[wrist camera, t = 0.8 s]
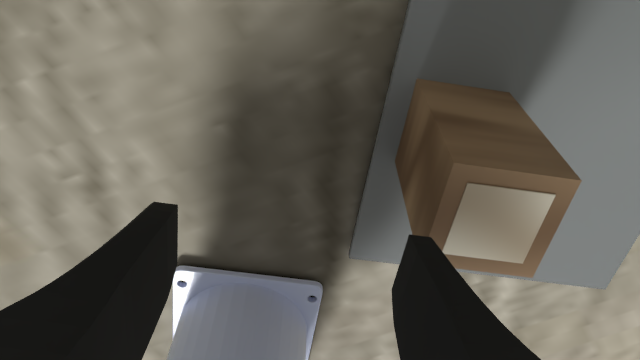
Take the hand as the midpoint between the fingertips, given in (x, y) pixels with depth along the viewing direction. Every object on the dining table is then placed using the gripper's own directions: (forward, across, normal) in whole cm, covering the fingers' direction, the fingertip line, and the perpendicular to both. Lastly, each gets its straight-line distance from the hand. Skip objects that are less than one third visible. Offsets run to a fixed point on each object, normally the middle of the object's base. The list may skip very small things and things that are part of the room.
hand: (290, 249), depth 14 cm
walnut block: (+10, -6, 0) cm, 12 cm away
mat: (+10, -10, 0) cm, 14 cm away
